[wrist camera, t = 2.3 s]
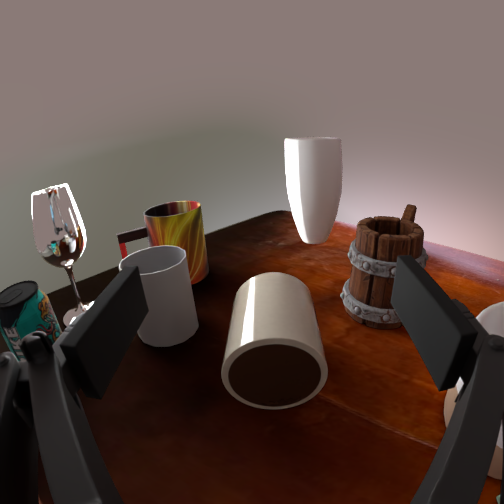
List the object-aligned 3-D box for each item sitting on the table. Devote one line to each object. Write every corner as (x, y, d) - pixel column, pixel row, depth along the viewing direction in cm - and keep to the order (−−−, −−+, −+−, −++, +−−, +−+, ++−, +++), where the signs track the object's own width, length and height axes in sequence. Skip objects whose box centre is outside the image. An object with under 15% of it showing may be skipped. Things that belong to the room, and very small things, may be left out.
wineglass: (108, 299, 47) (79, 179, 39) (105, 325, 40) (68, 187, 32) (67, 307, 45) (34, 190, 37) (59, 333, 38) (16, 201, 30)
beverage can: (90, 369, 31) (54, 281, 27) (56, 406, 25) (6, 316, 21) (56, 354, 33) (22, 274, 29) (24, 385, 27) (-20, 303, 23)
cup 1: (210, 328, 39) (199, 257, 35) (154, 355, 34) (133, 282, 30) (179, 303, 45) (167, 240, 41) (130, 324, 40) (111, 259, 36)
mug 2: (318, 313, 40) (333, 198, 36) (365, 287, 49) (379, 198, 45) (398, 345, 32) (427, 217, 28) (428, 308, 42) (448, 212, 37)
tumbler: (236, 339, 37) (229, 273, 33) (311, 337, 36) (314, 270, 32) (227, 410, 26) (214, 339, 23) (323, 407, 26) (333, 335, 22)
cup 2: (349, 250, 59) (351, 137, 50) (326, 270, 51) (326, 140, 43) (304, 240, 65) (301, 136, 57) (276, 258, 58) (270, 139, 49)
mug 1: (127, 288, 50) (111, 222, 45) (182, 258, 60) (173, 199, 56) (163, 304, 45) (147, 228, 40) (220, 268, 55) (212, 202, 51)
